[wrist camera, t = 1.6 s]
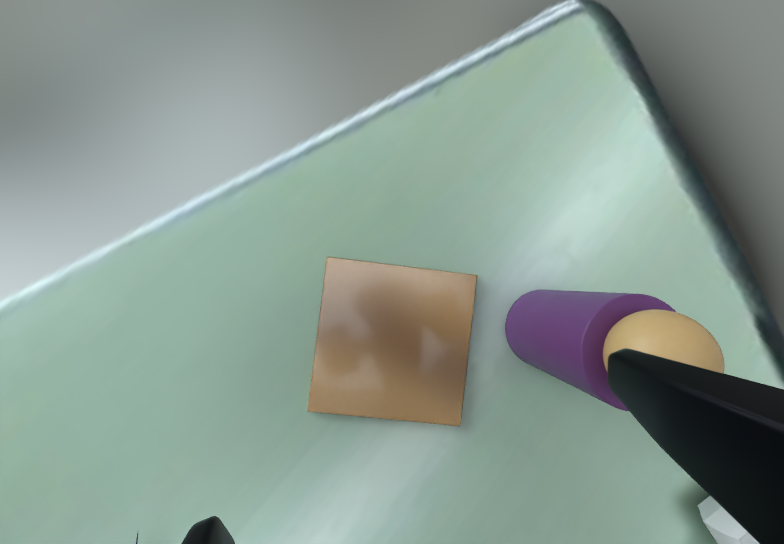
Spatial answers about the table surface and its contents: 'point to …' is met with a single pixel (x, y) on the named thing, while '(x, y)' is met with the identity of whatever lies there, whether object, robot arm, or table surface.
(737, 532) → the stamp
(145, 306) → the table surface
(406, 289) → the cork coaster
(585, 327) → the peg doll toy
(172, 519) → the table surface
